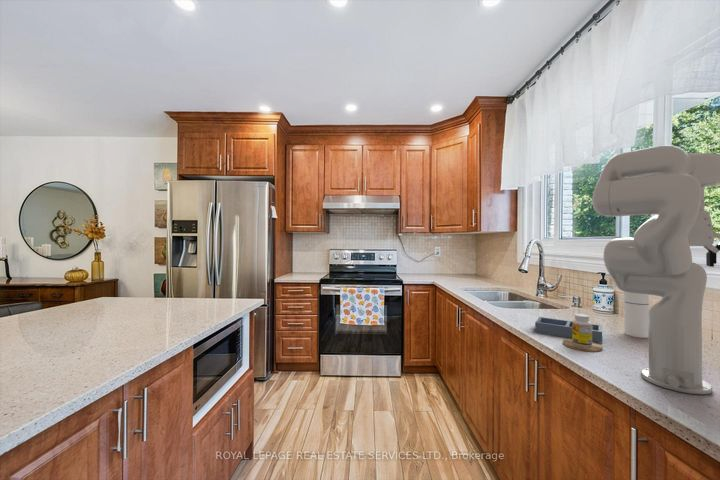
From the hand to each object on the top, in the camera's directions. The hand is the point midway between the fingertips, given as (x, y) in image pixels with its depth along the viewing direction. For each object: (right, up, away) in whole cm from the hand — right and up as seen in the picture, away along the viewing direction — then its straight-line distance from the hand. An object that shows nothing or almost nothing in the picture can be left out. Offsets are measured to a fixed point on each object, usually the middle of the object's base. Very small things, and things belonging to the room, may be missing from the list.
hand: (686, 265), depth 89 cm
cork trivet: (-20, -29, +15) cm, 39 cm away
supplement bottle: (-20, -29, +15) cm, 38 cm away
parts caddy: (-15, -30, +29) cm, 44 cm away
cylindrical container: (+11, -30, +27) cm, 42 cm away
